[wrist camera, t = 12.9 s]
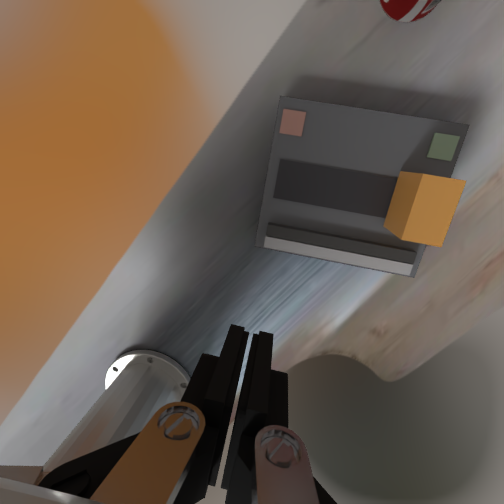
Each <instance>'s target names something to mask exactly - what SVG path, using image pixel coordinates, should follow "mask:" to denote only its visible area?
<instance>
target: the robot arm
mask: <svg viewBox="0 0 504 504" xmlns="http://www.w3.org/2000/svg"><path fill="white" fill-rule="evenodd" d="M244 328H245V327H241V326H237V325H233V324H231V326H230V329H229V331H228V334H227V337H226V340H225V343H224V345H223V348H222V351H221V354H220V357H217V356H213V355H209V354H204V353H203V354H202V355H201V357H200V360H199V362H198V364H197V366H196V368H195V370H194V373H193V375H192V377H191V379H190V377H189V375H188V373H187V372H186V371H185V370H184V368H183V367H182V366H181V365H179V364H178V363H177V362H176V361H175V360H173V359H171V358H170V357H168V356H166V355H164V354H162V353H159V352H155V351H152V350H134V351H130V352H127V353H125V354H123V355H121V356H120V357H119V358H117V359H116V360H115V361H114V363H113V364H112V365H111V366H110V368H109V370H108V371H107V374H106V378H105V387H106V390H105V392H104V393H103V394H102V395H101V396H100V398H99V399H98V400H97V401H96V403H95V404H94V405H93V406H92V407H91V409H90V410H89V411H88V412H87V413H86V415H85V416H84V417H83V418H82V420H81V421H80V422H79V423H78V424H77V426H76V427H75V428H74V429H73V430H72V432H71V433H70V434H69V435H68V436H67V438H66V439H65V440H64V441H63V443H62V444H61V445H60V446H59V447H58V449H57V450H56V451H55V452H54V453H53V455H52V456H51V457H50V458H49V460H48V461H47V462H46V463H45V464H44V466H0V504H195V503H197V502H198V501H200V500H201V499H203V498H205V495H206V491H207V487H208V485H211V486H215V484H216V480H217V475H218V471H219V466H220V462H221V457H222V452H223V449H224V444H225V439H226V435H227V431H228V426H229V422H230V417H231V413H232V409H233V404H234V400H235V395H236V391H237V386H238V381H239V377H240V372H241V368H242V363H243V358H244V354H245V349H246V345H247V340H248V335H249V332H246V331H244ZM272 346H273V334H271V333H267V332H263V331H260V332H259V334H253V338H252V342H251V347H250V351H249V356H248V360H247V365H246V369H245V374H244V378H243V383H242V387H241V392H240V397H239V401H238V406H237V411H236V416H235V421H234V426H233V431H232V435H231V440H230V445H229V450H228V456H227V460H226V465H225V469H224V474H223V479H222V484H221V488H223V489H226V490H227V495H226V501H225V504H337V503H336V502H335V501H334V500H333V498H332V497H331V496H330V495H329V494H328V493H327V492H326V490H325V489H324V488H323V487H322V486H321V485H320V484H319V483H318V481H317V480H316V479H315V478H314V477H313V474H312V470H311V466H310V462H309V458H308V453H307V449H306V447H305V444H304V443H303V441H302V440H301V438H300V437H299V436H298V435H297V434H296V433H294V432H293V431H292V430H290V429H288V374H287V373H284V372H280V371H275V370H271V360H272Z"/></svg>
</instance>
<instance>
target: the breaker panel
mask: <svg viewBox="0 0 504 504" xmlns="http://www.w3.org/2000/svg"><path fill="white" fill-rule="evenodd" d="M468 128H469V125H467V124H460V123H454V122H447V121H441V120H434V119H428V118H421V117H415V116H408V115H402V114H395V113H389V112H382V111H376V110H369V109H363V108H356V107H350V106H343V105H337V104H330V103H324V102H317V101H311V100H304V99H298V98H291V97H285V96H280V100H279V106H278V112H277V118H276V124H275V129H274V135H273V141H272V147H271V153H270V158H269V164H268V170H267V176H266V182H265V187H264V193H263V199H262V205H261V211H260V217H259V222H258V228H257V234H256V240H255V247H260V248H265V249H271V250H276V251H281V252H286V253H291V254H296V255H301V256H306V257H311V258H316V259H321V260H326V261H332V262H337V263H342V264H347V265H352V266H357V267H362V268H367V269H372V270H377V271H382V272H387V273H392V274H398V275H403V276H408V277H413V278H414V277H415V274H416V272H417V269H418V266H419V263H420V261H421V258H422V255H423V252H424V250H425V247H426V244H422V243H416V242H411V241H405V240H401V239H400V238H398V237H397V236H396V235H394V234H393V233H392V232H390V231H389V230H388V229H386V228H385V227H384V226H383V225H384V222H385V219H386V216H387V212H388V209H389V206H390V203H391V199H392V196H393V193H394V190H395V186H396V183H397V180H398V177H399V173H400V171H404V172H413V173H422V174H428V175H434V176H440V177H446V178H451V175H452V172H453V169H454V166H455V164H456V161H457V158H458V155H459V153H460V150H461V147H462V144H463V142H464V139H465V136H466V133H467V130H468Z"/></svg>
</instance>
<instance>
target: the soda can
mask: <svg viewBox="0 0 504 504" xmlns="http://www.w3.org/2000/svg"><path fill="white" fill-rule="evenodd" d="M440 1H441V0H380V4H381V6H382V9H383V10H384V12H385V13H386V14H387V15H388V16H389V17H390V18H391V19H393V20H395V21H398V22H403V23H408V22H413V21H417V20H419V19H421V18H423V17H424V16H426V15H427V14H428V13H430V12H431V11H432V10H433V9H434V8H435V7H436V5H437V4H438V3H439V2H440Z"/></svg>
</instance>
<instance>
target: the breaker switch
mask: <svg viewBox="0 0 504 504" xmlns="http://www.w3.org/2000/svg"><path fill="white" fill-rule="evenodd" d="M465 183H466V181H464V180H458V179H452V178H446V177H440V176H434V175H428V174H422V173H413V172H404V171H400V173H399V177H398V180H397V183H396V186H395V190H394V193H393V196H392V199H391V203H390V206H389V209H388V212H387V216H386V219H385V222H384V225H383V226H384V227H385V228H386V229H388V230H389V231H390V232H392V233H393V234H394V235H396V236H397V237H398V238H400V239H401V240H405V241H411V242H416V243H422V244H427V245H432V246H438V247H442V244H443V241H444V239H445V236H446V234H447V231H448V228H449V226H450V223H451V220H452V218H453V215H454V212H455V210H456V207H457V204H458V202H459V199H460V197H461V194H462V191H463V189H464V186H465Z"/></svg>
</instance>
